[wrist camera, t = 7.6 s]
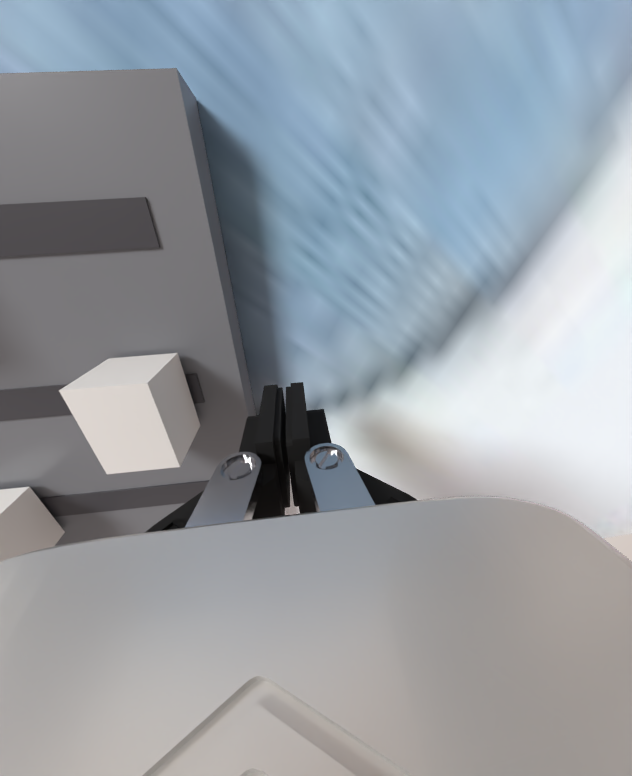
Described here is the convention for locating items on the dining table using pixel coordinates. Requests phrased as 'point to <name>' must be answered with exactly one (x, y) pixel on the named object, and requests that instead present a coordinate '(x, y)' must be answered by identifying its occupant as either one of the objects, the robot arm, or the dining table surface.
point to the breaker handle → (135, 412)
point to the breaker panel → (106, 294)
